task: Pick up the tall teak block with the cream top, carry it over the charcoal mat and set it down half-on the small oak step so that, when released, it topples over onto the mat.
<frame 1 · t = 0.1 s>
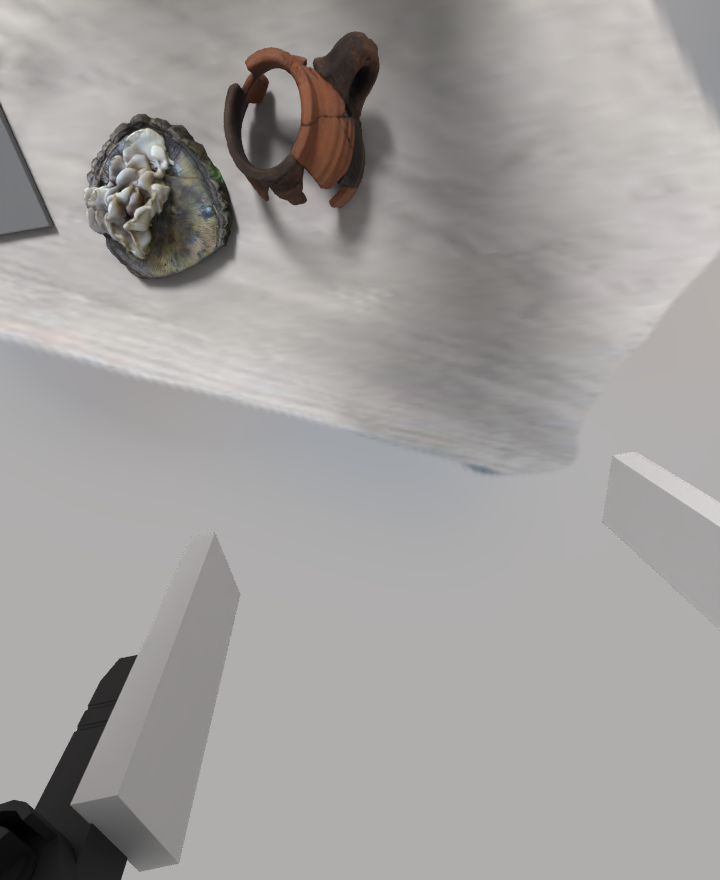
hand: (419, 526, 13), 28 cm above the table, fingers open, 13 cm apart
oyster shell: (165, 208, 32), on the table
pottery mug: (312, 139, 31), on the table
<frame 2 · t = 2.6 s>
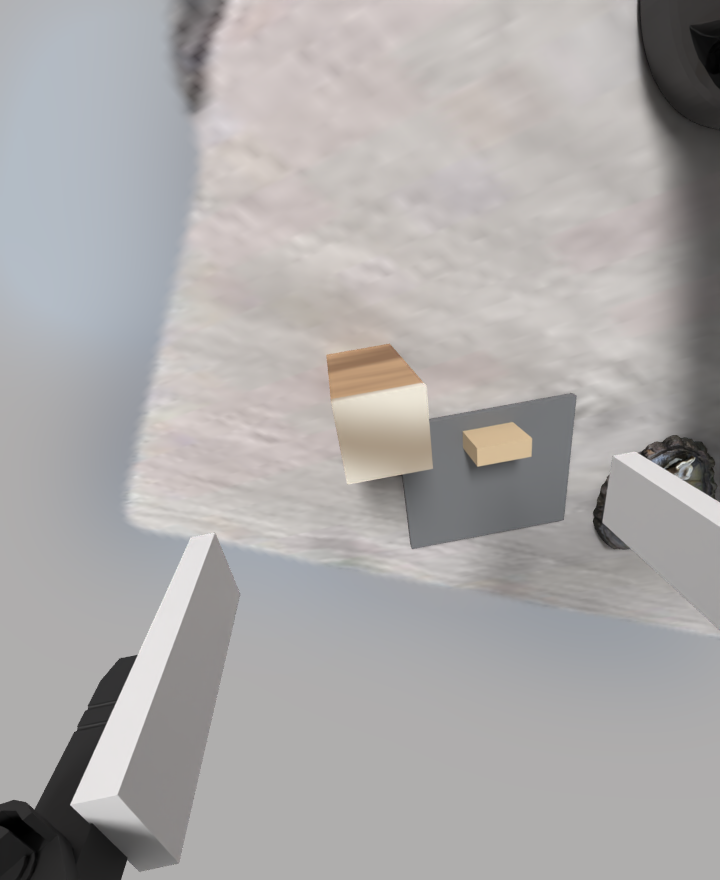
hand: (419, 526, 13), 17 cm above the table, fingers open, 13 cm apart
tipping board: (485, 474, 32), on the table
oyster shell: (646, 491, 36), on the table
teak block: (362, 380, 28), on the table
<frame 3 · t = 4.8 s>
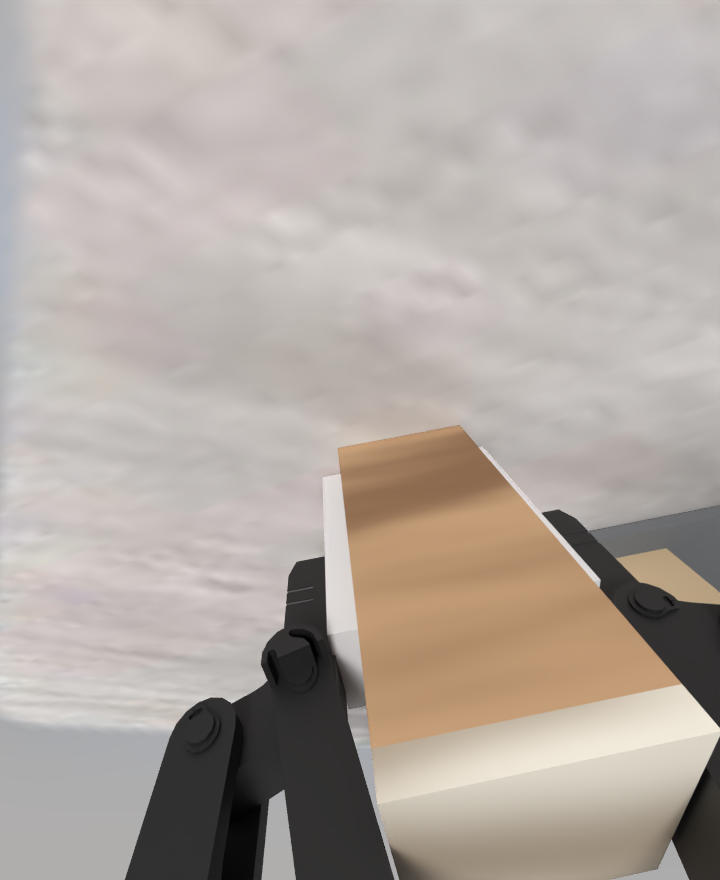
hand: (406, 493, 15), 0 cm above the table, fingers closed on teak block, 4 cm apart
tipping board: (600, 619, 19), on the table
teak block: (405, 488, 15), on the table, touching gripper
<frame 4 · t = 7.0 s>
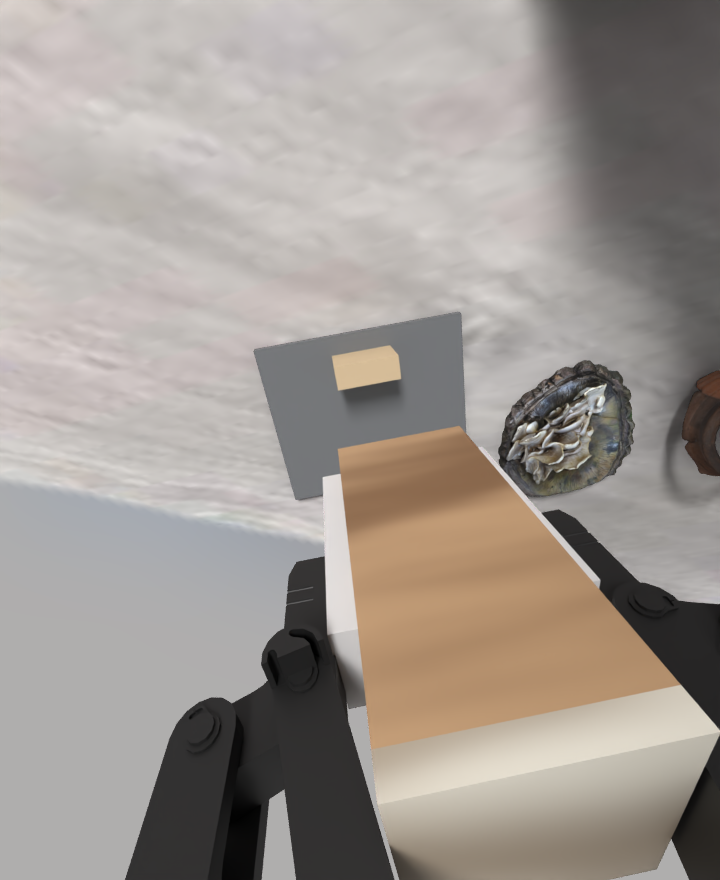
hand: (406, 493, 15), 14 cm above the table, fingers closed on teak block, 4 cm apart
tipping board: (370, 411, 28), on the table
oyster shell: (560, 431, 32), on the table
teak block: (405, 488, 15), point 14 cm above the table, touching gripper
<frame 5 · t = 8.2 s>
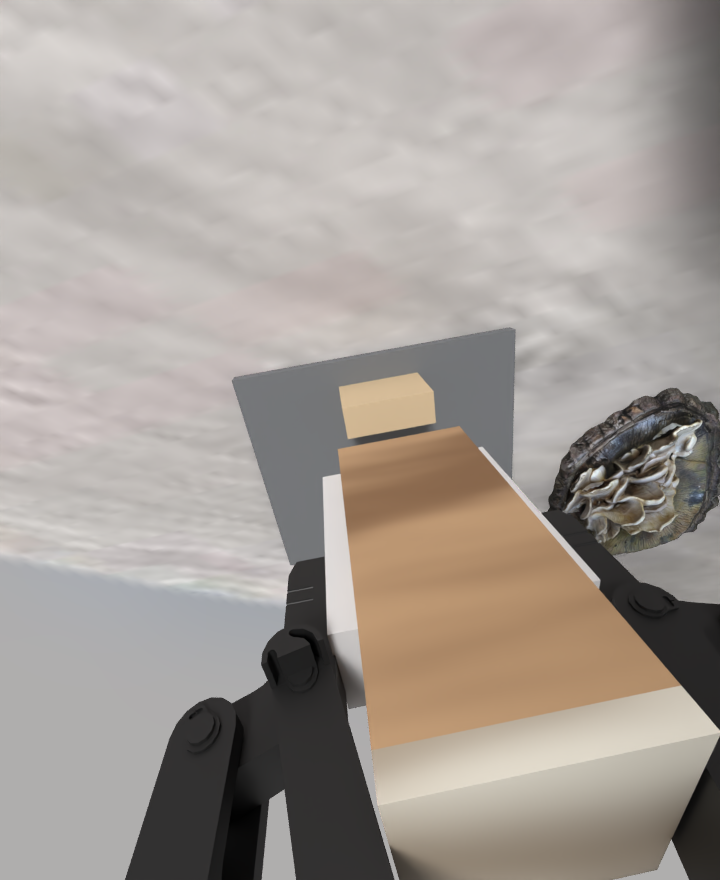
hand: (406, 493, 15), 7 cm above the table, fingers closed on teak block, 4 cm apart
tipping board: (387, 456, 22), on the table
oyster shell: (626, 475, 25), on the table
teak block: (405, 488, 15), point 7 cm above the table, touching gripper
when the fingers open (4 cm above the table, at t = 9.0 s): teak block drops 1 cm and tips over, resting on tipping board.
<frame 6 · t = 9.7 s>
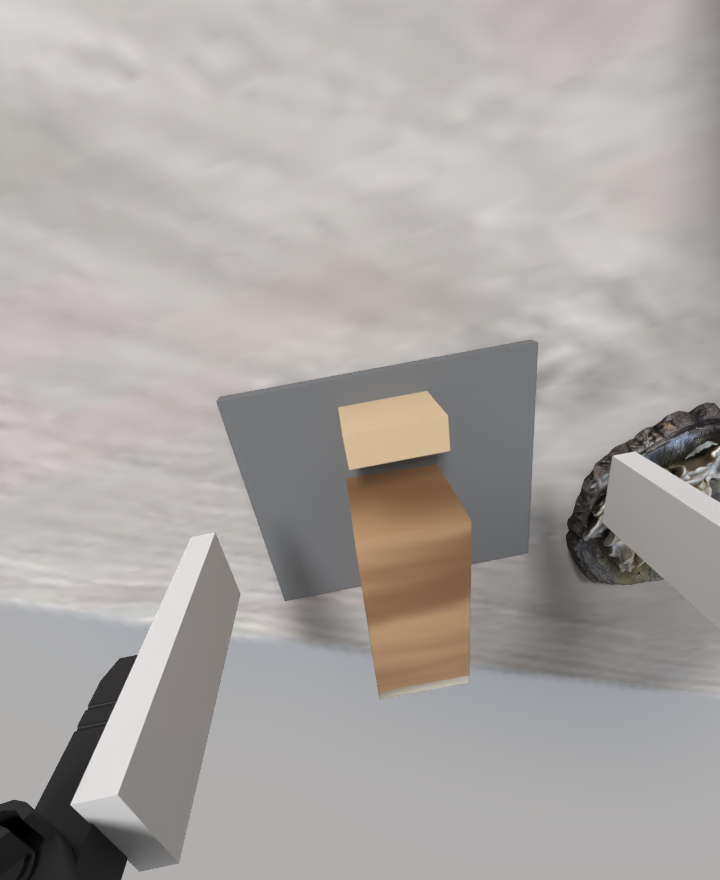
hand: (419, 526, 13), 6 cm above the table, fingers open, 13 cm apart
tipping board: (392, 482, 19), on the table
oyster shell: (652, 496, 23), on the table
teak block: (401, 497, 16), point 3 cm above the table, tilted 90°, touching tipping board
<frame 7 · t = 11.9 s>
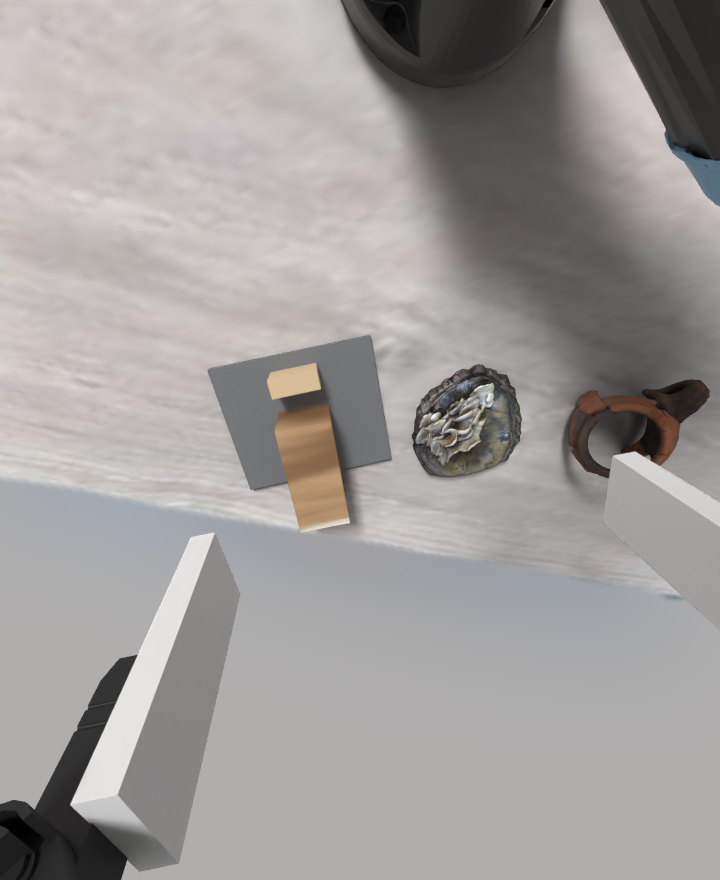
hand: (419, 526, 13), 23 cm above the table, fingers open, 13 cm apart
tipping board: (306, 415, 35), on the table
oyster shell: (463, 422, 38), on the table
teak block: (303, 416, 32), point 3 cm above the table, tilted 90°, touching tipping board
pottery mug: (611, 414, 40), on the table
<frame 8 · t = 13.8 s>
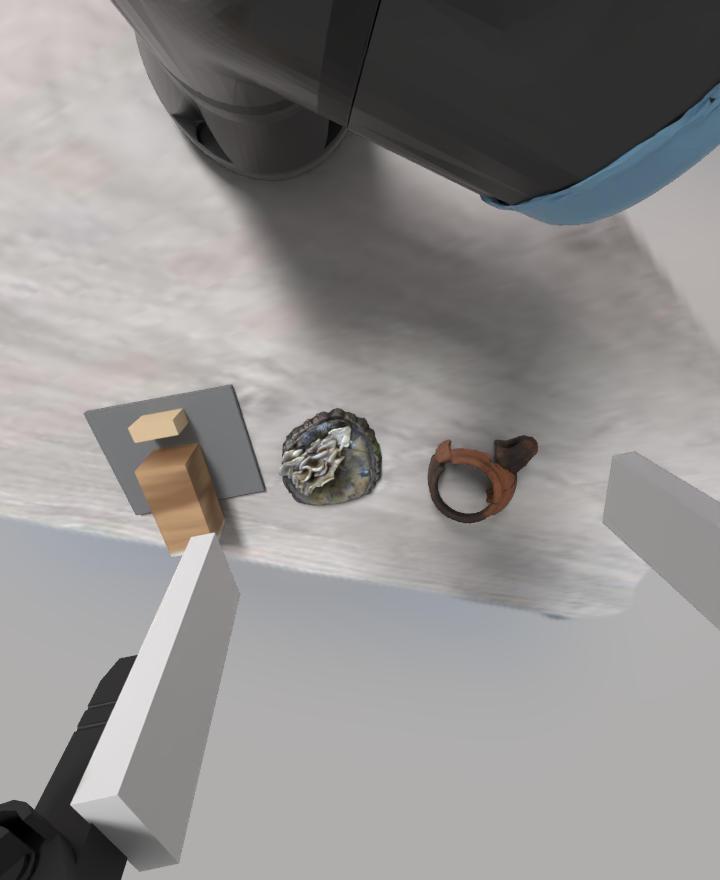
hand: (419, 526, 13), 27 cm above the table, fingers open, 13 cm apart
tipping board: (182, 452, 39), on the table
oyster shell: (331, 457, 42), on the table
teak block: (168, 456, 36), point 3 cm above the table, tilted 90°, touching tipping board
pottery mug: (472, 458, 44), on the table
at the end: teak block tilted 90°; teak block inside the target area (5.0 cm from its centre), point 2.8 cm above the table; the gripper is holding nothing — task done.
